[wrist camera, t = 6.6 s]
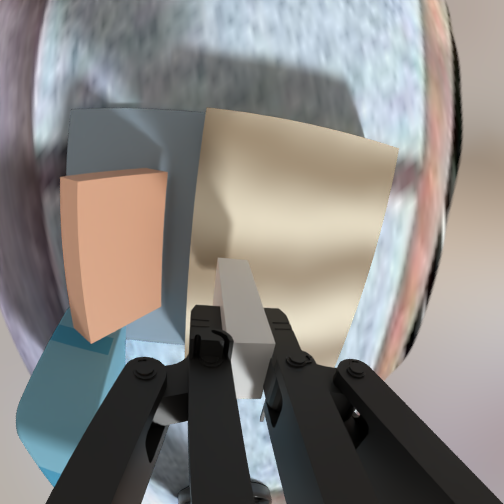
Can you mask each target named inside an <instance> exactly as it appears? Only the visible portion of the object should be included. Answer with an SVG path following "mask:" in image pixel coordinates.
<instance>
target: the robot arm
mask: <svg viewBox="0 0 504 504" xmlns="http://www.w3.org/2000/svg"><path fill="white" fill-rule="evenodd" d="M263 389H264V393H265V397H266V399H265V403H264V406H263V409H262V413H261V416H260V422H263V420H264V417H265V418H266V422H267V426H268V430H269V435H270V439H271V443H272V447H273V451H274V455H275V459H276V464H277V468H278V472H279V476H280V480H281V484H282V488H283V492H284V496H285V499H286V503H287V504H503V503H502V502H501V501H500V500H499V499H498V498H497V497H496V496H495V495H494V494H493V493H492V492H491V491H490V490H489V489H488V488H487V487H486V486H485V485H484V483H483V482H481V480H480V479H479V478H478V477H477V476H476V475H475V474H474V473H473V472H472V471H471V470H470V469H469V468H468V467H467V466H466V465H465V464H464V463H463V462H462V461H461V460H460V459H459V458H458V457H457V456H456V455H455V454H454V453H453V452H452V451H451V450H450V449H449V448H448V446H446V445H445V443H444V442H443V441H442V440H441V439H440V438H439V437H438V436H437V435H436V434H435V433H434V432H433V431H432V430H431V429H430V428H429V427H428V426H427V425H426V424H425V423H424V422H423V421H422V420H421V419H420V418H419V417H418V416H417V415H416V414H415V413H414V412H413V411H412V410H411V409H410V408H409V407H408V406H407V405H406V404H405V402H404V401H403V400H402V399H401V398H400V397H399V396H398V395H397V394H396V393H395V392H394V391H393V390H392V389H391V388H390V387H389V386H388V385H387V384H386V383H385V382H384V381H383V380H382V379H381V378H380V377H379V376H378V375H377V374H376V373H375V372H374V371H373V370H372V369H371V368H370V367H369V366H368V365H367V364H365V363H364V362H361V361H359V360H355V359H345V360H343V361H341V362H340V363H339V365H338V367H337V368H333V367H327V366H322V365H319V364H316V362H315V360H314V358H313V357H312V356H311V355H310V354H308V353H307V352H305V351H302V350H301V347H300V345H299V343H298V341H297V338H296V336H295V334H294V331H293V330H292V327H291V324H290V322H289V320H288V318H287V315H286V314H285V313H284V312H282V311H281V310H280V309H279V308H263V305H262V302H261V299H260V296H259V293H258V290H257V287H256V284H255V281H254V278H253V275H252V272H251V269H250V266H249V263H248V260H242V259H230V258H218V260H217V269H216V278H215V287H214V296H213V306H210V305H195V306H194V308H193V309H192V310H191V315H190V334H189V353H188V355H187V357H186V358H185V359H184V360H183V361H181V362H179V363H177V364H173V365H168V366H164V365H163V364H162V363H161V362H160V361H159V360H156V359H154V358H150V357H139V358H135V359H133V360H130V361H129V362H128V363H127V364H126V365H125V366H124V368H123V370H122V371H121V373H120V374H119V376H118V378H117V379H116V381H115V382H114V384H113V386H112V387H111V389H110V391H109V392H108V394H107V396H106V397H105V399H104V400H103V402H102V404H101V405H100V407H99V409H98V410H97V412H96V414H95V416H94V417H93V419H92V421H91V422H90V424H89V426H88V427H87V429H86V431H85V433H84V434H83V436H82V438H81V440H80V441H79V443H78V445H77V447H76V448H75V450H74V452H73V454H72V455H71V457H70V459H69V461H68V463H67V464H66V466H65V468H64V470H63V472H62V474H61V475H60V477H59V479H58V481H57V483H56V485H55V487H54V489H53V490H52V492H51V494H50V496H49V498H48V500H47V502H46V504H141V502H142V500H143V497H144V494H145V491H146V488H147V485H148V483H149V480H150V477H151V474H152V471H153V469H154V466H155V463H156V460H157V458H158V455H159V452H160V449H161V447H162V444H163V441H164V438H165V436H166V433H167V430H168V427H169V425H170V424H175V423H180V422H184V421H188V453H189V480H190V487H187V488H185V489H183V490H181V491H180V492H179V494H178V504H271V503H272V499H271V495H270V490H269V489H268V488H267V487H266V486H264V485H261V484H258V483H252V482H251V480H250V474H249V469H248V463H247V458H246V452H245V447H244V441H243V435H242V429H241V423H240V417H239V411H238V404H237V399H261V396H262V393H263ZM355 409H356V410H357V411H358V412H359V413H360V416H359V415H357V414H356V413H355V412H354V411H355Z"/></svg>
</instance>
